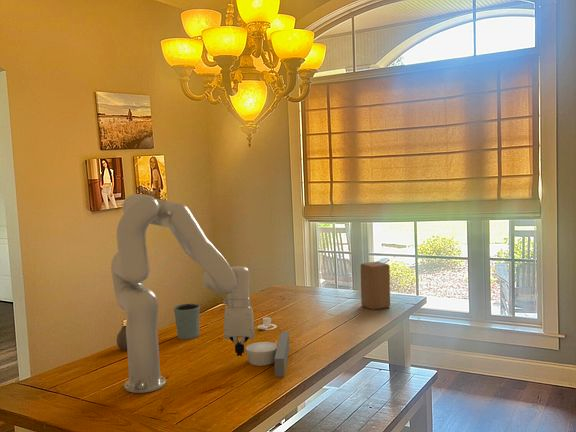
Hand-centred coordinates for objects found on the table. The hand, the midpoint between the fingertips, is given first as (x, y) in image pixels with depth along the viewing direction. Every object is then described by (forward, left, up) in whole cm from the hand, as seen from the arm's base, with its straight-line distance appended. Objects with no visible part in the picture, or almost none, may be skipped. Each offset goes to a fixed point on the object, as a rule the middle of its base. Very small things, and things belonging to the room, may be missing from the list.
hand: (239, 354), depth 199 cm
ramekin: (0, -8, -3) cm, 8 cm away
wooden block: (+69, -53, -3) cm, 87 cm away
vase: (+15, +45, -3) cm, 48 cm away
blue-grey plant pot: (+30, +25, -3) cm, 39 cm away
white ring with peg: (+40, -2, -3) cm, 40 cm away
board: (0, -15, -3) cm, 15 cm away
